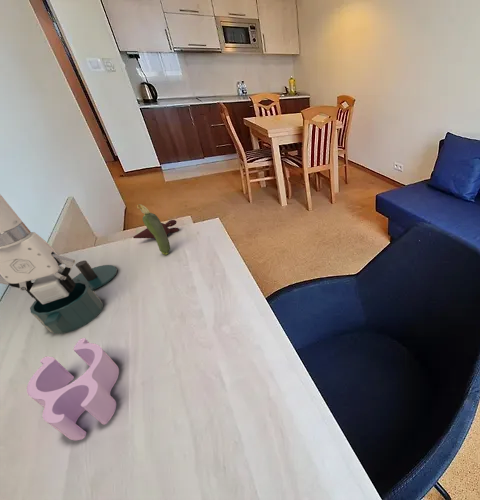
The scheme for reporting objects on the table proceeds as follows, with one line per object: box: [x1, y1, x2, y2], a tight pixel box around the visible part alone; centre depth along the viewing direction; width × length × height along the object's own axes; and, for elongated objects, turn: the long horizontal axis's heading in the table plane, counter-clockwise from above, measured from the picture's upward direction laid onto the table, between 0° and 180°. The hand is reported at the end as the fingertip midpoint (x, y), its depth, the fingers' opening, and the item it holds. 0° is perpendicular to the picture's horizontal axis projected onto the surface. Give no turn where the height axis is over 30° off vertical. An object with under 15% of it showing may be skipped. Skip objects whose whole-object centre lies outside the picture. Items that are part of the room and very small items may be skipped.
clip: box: [26, 337, 120, 441], centre depth 61 cm, size 20×12×7 cm, turn 43°
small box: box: [30, 275, 69, 304], centre depth 77 cm, size 6×6×5 cm
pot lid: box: [72, 259, 118, 291], centre depth 95 cm, size 13×13×7 cm
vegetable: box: [136, 204, 171, 256], centre depth 100 cm, size 4×4×20 cm
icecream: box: [133, 219, 180, 239], centre depth 114 cm, size 7×7×15 cm
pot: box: [29, 278, 104, 335], centre depth 81 cm, size 12×18×8 cm
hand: (56, 292), depth 78 cm, fingers closed on small box, 6 cm apart
